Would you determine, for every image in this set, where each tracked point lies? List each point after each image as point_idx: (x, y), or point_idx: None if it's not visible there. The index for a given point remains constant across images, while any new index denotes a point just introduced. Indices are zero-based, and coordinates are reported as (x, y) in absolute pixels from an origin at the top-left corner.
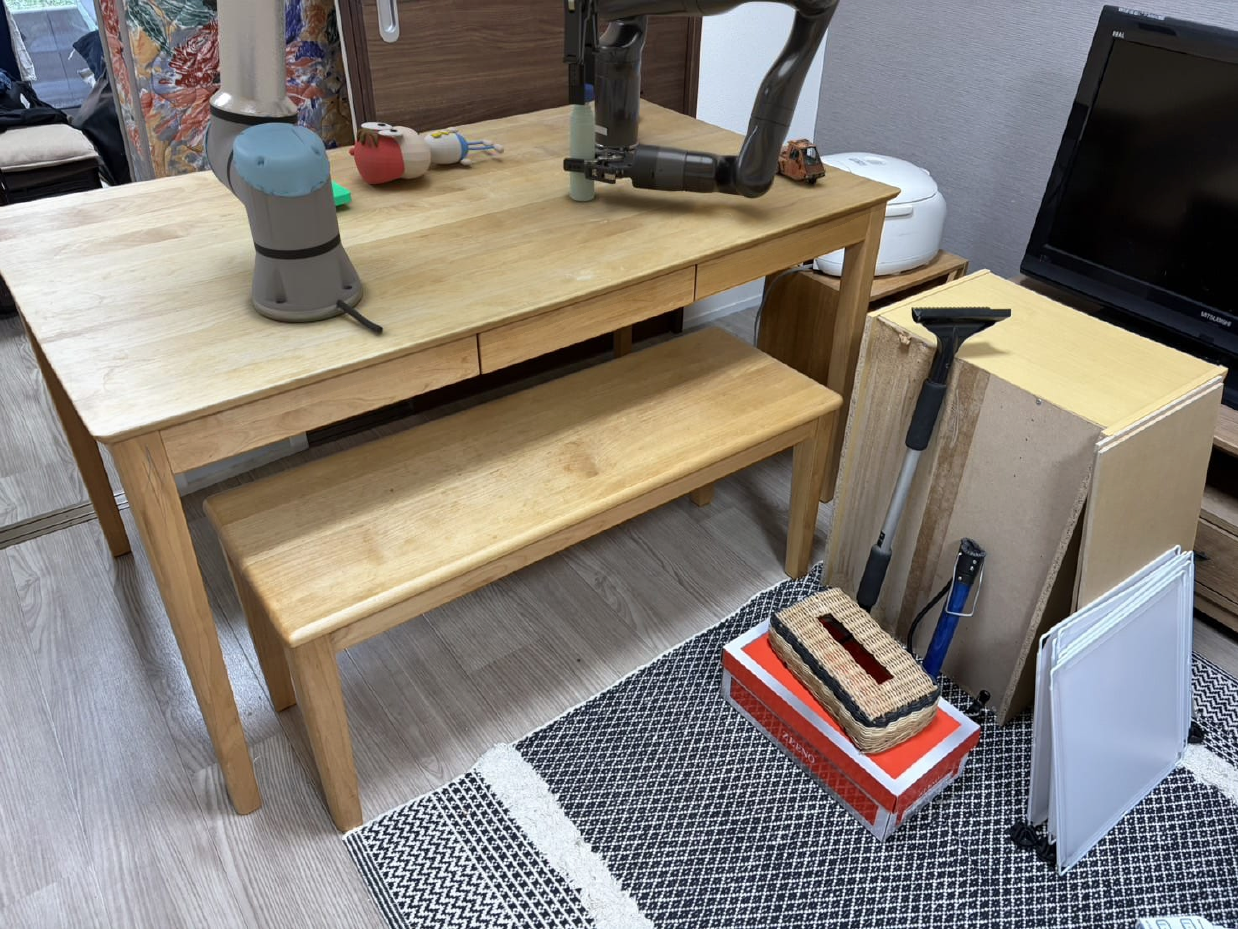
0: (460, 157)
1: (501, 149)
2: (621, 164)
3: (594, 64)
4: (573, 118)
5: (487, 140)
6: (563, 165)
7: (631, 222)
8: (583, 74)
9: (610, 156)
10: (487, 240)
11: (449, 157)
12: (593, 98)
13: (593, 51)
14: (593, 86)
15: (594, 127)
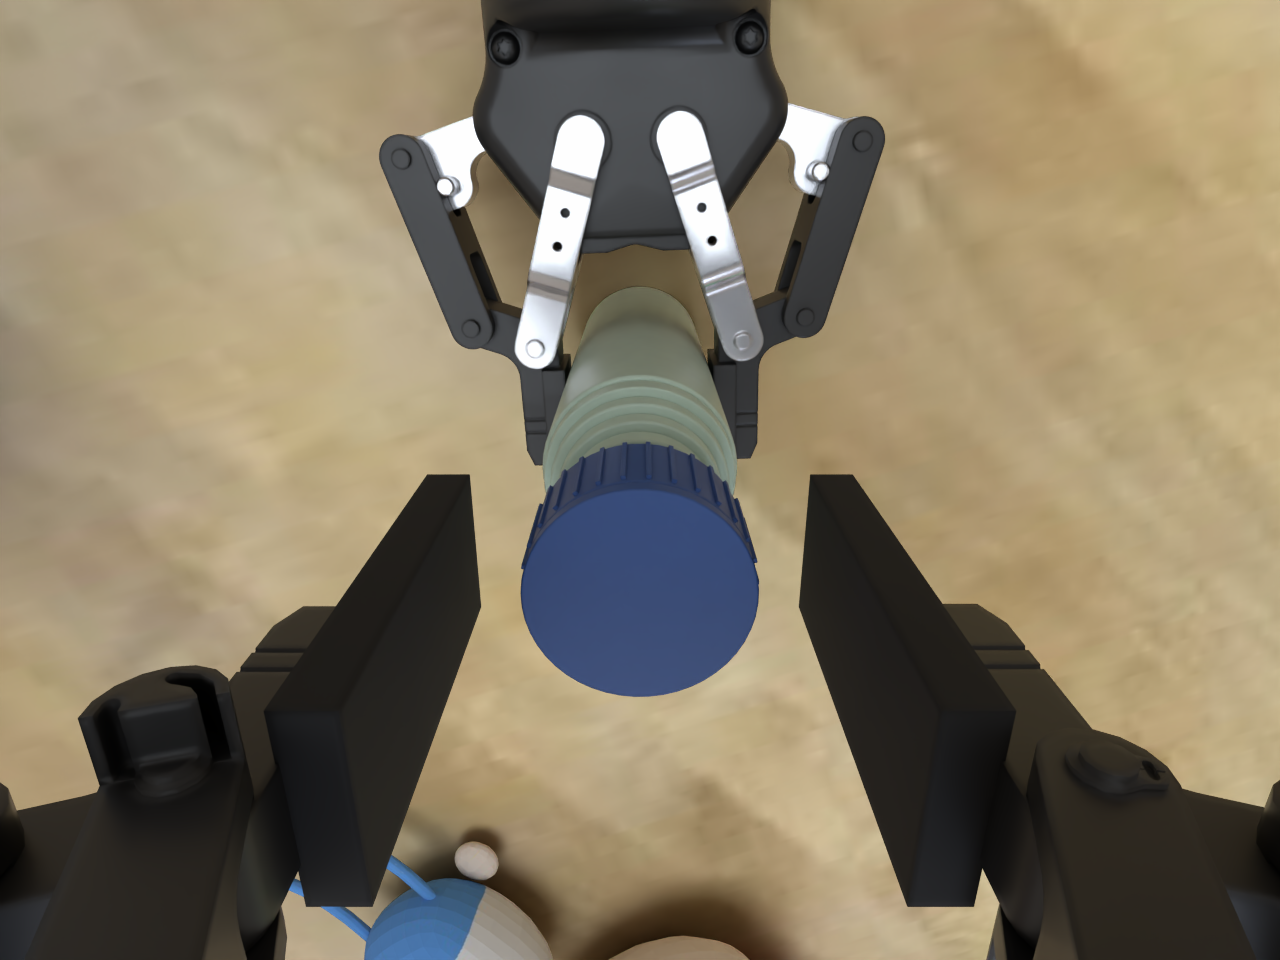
0: (483, 889)
1: None
2: (746, 106)
3: (383, 629)
4: None
5: None
6: None
7: (906, 8)
8: (957, 633)
9: (680, 205)
10: (1177, 565)
11: (523, 918)
12: (626, 445)
13: (254, 769)
14: (452, 514)
15: (642, 364)
